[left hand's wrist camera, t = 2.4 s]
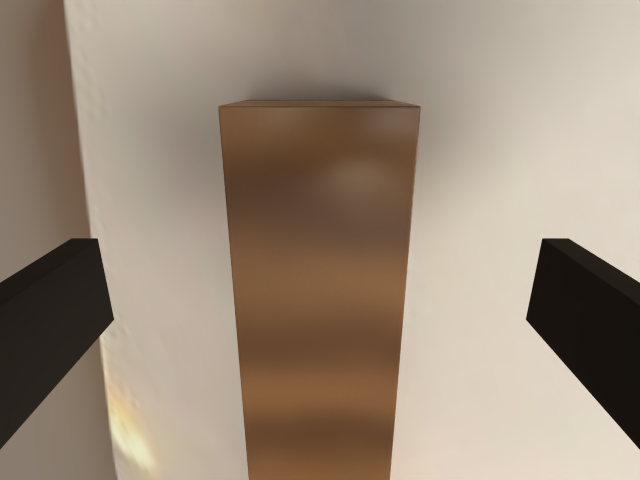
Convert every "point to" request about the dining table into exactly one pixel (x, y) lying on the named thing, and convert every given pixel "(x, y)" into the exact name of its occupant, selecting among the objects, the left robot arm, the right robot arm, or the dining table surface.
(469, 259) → the dining table surface
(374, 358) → the wooden square beam
